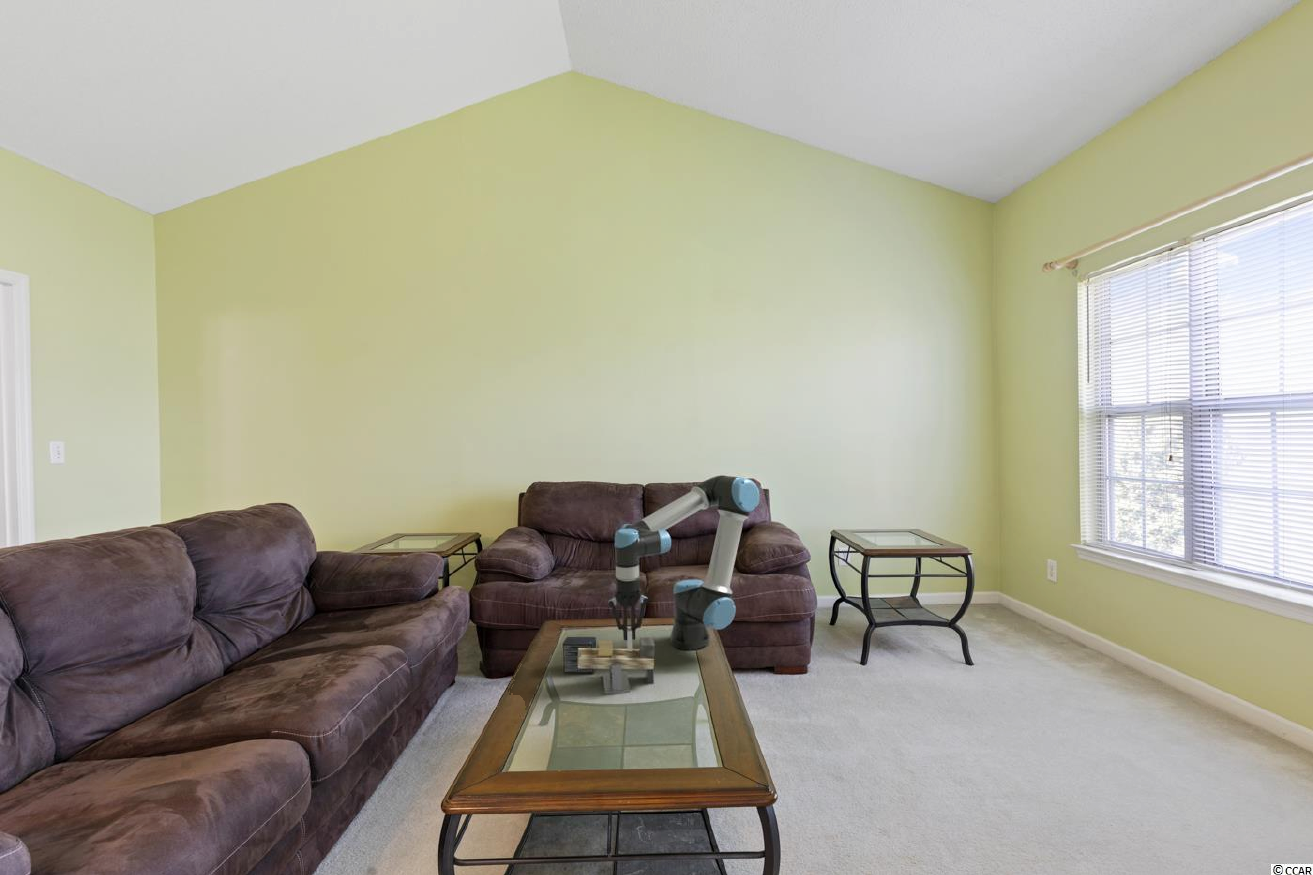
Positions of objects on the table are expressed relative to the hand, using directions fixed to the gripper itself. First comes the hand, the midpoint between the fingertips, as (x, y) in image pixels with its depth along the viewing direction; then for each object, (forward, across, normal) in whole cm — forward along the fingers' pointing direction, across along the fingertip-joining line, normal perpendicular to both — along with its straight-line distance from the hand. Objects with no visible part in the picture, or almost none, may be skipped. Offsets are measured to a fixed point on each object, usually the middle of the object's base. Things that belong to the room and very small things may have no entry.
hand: (629, 649), depth 178 cm
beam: (+4, +5, 0) cm, 6 cm away
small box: (+11, +16, -13) cm, 23 cm away
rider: (+3, +8, 0) cm, 9 cm away
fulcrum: (+11, +1, 0) cm, 11 cm away
